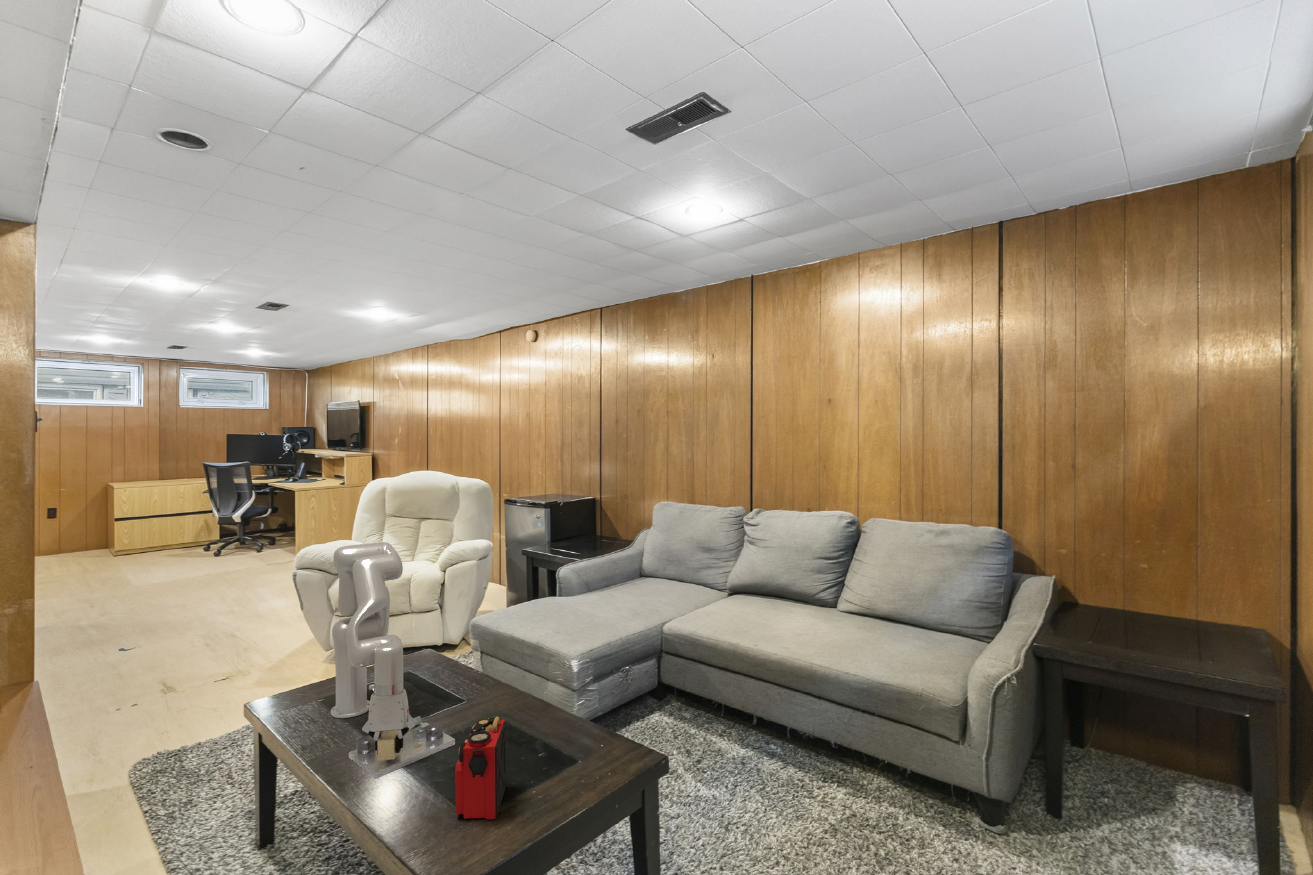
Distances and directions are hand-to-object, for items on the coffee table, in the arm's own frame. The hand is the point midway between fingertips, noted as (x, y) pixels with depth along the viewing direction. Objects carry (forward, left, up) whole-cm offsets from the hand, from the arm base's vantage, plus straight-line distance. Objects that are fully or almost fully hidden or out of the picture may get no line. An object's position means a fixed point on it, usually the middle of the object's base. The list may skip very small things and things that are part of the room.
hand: (389, 750), depth 173 cm
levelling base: (-4, +6, -4) cm, 8 cm away
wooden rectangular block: (-1, +1, -2) cm, 2 cm away
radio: (+37, +6, -4) cm, 38 cm away
